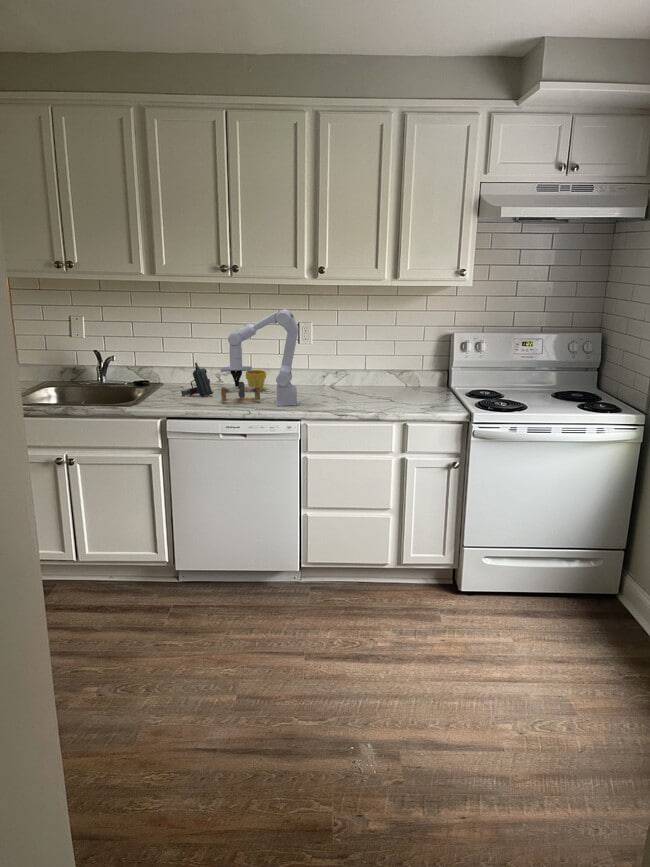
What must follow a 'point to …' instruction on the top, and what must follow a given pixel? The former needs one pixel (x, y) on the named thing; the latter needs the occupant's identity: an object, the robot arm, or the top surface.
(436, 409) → the top surface
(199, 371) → the gun
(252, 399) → the pipe stand
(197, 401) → the top surface
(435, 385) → the top surface
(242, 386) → the collar
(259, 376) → the plant pot
